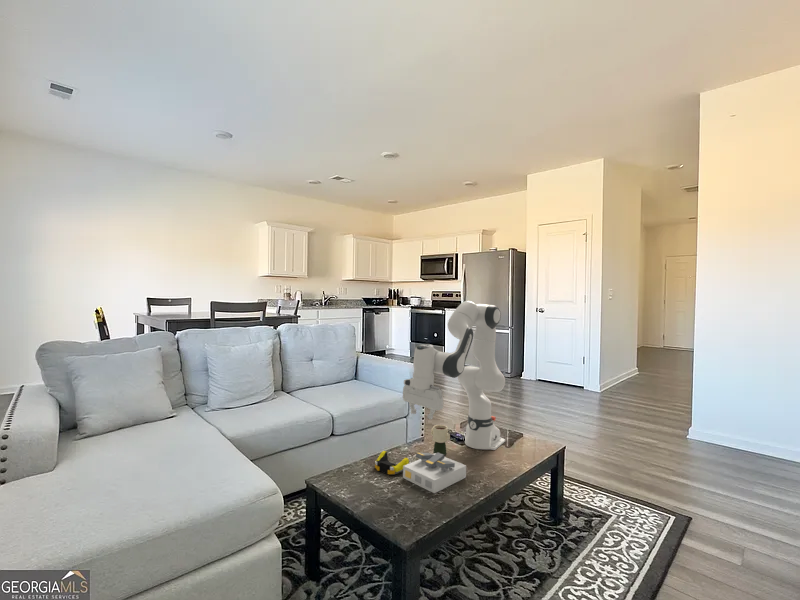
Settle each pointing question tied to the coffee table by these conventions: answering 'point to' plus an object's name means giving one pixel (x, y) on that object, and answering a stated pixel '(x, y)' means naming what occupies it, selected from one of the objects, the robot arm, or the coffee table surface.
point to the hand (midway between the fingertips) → (421, 416)
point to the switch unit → (433, 474)
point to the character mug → (440, 438)
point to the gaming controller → (389, 464)
